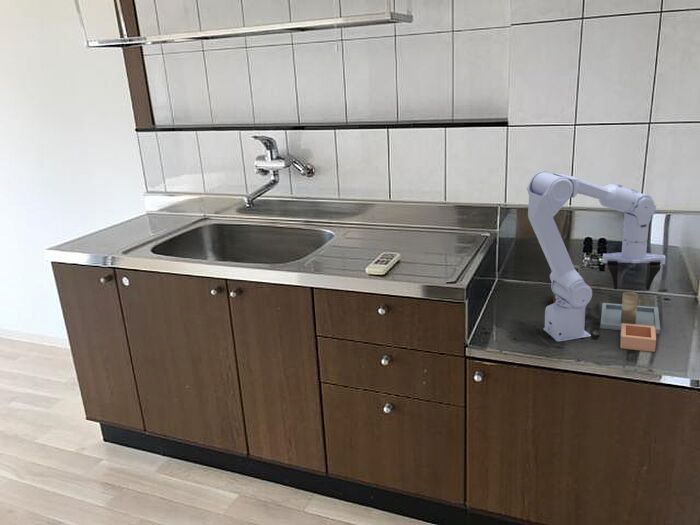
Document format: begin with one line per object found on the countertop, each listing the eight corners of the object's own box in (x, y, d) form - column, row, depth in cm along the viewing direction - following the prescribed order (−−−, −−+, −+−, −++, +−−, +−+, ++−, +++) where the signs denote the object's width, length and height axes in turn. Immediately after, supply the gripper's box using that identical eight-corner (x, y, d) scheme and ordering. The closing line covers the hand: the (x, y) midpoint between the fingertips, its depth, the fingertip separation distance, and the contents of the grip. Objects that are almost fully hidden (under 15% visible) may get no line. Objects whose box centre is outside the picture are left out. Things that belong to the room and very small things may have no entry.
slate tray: (600, 330, 156) (600, 323, 156) (602, 308, 168) (602, 302, 167) (659, 336, 150) (660, 329, 150) (657, 313, 162) (657, 307, 162)
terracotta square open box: (620, 350, 146) (621, 336, 144) (620, 336, 152) (621, 323, 151) (654, 354, 142) (656, 340, 141) (653, 339, 149) (654, 326, 148)
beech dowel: (627, 325, 156) (629, 297, 153) (617, 320, 159) (619, 293, 156) (638, 323, 157) (641, 295, 154) (629, 317, 160) (631, 290, 157)
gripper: (605, 243, 150) (602, 293, 154) (669, 244, 145) (664, 295, 150) (603, 235, 156) (600, 282, 160) (664, 235, 151) (659, 284, 156)
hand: (631, 288), depth 155 cm, fingers open, 7 cm apart
